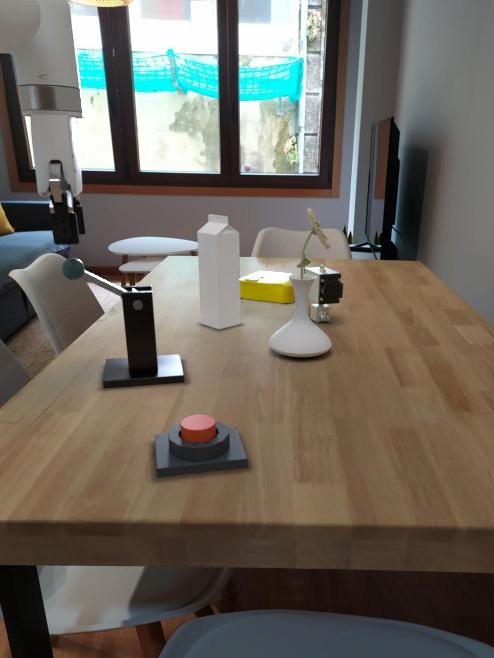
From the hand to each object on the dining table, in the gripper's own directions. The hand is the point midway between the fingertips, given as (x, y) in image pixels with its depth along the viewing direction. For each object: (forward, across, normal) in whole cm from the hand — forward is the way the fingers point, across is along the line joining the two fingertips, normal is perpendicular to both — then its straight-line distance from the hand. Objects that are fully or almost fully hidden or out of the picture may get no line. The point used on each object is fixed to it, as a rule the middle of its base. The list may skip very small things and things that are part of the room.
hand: (71, 238), depth 77 cm
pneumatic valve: (+22, -25, +46) cm, 57 cm away
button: (+19, +28, +14) cm, 37 cm away
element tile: (+22, -50, +41) cm, 68 cm away
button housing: (+21, +28, +14) cm, 38 cm away
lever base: (+21, 0, +8) cm, 23 cm away
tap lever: (+8, 0, +3) cm, 9 cm away
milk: (+22, -26, +24) cm, 42 cm away
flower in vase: (+22, -6, +36) cm, 43 cm away
